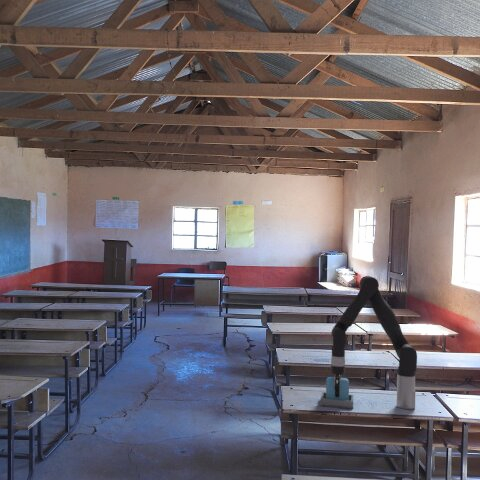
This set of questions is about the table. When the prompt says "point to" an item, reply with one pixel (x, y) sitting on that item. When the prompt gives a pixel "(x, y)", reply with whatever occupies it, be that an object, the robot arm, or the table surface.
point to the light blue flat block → (331, 387)
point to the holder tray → (336, 402)
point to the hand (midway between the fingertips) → (337, 395)
